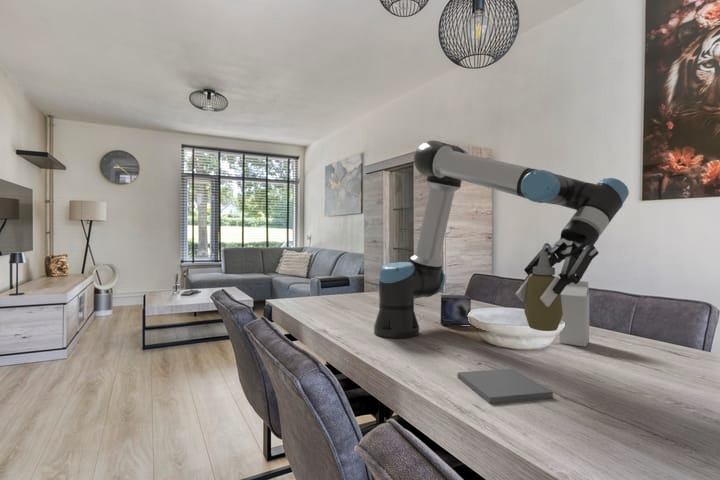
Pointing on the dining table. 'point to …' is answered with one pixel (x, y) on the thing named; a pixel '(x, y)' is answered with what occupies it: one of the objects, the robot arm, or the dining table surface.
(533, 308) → the squeeze bottle
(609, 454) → the dining table surface
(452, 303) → the small box
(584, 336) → the milk carton
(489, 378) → the slate trivet
